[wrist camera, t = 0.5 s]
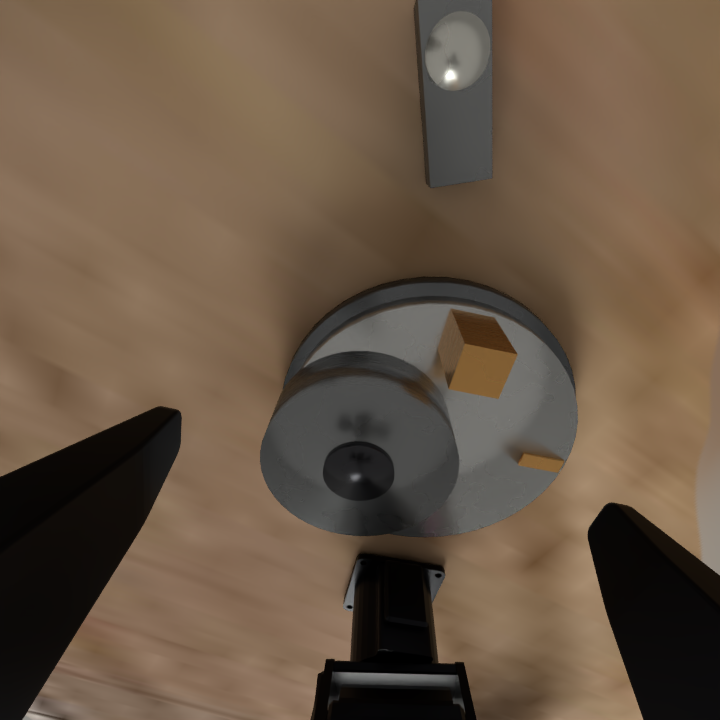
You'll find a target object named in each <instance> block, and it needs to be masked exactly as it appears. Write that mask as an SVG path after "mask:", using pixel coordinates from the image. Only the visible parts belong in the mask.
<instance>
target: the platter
mask: <svg viewBox="0 0 720 720" xmlns="http://www.w3.org/2000/svg"><path fill="white" fill-rule="evenodd" d="M348 351H371V352H379V353H383V354H387V355H391V356H394V357H397V358H399V359H402V360H404V361H406V362H408V363H410V364H412V365H413V366H415V367H417V368H418V369H419V370H421V371H422V372H423V373H425V374H426V375H427V376H428V377H429V378H430V379H431V380H432V381H433V382H434V384H435V385H436V386H437V388H438V389H439V390H440V392H441V394H442V396H443V397H444V400H445V403H446V405H447V408H448V412H449V416H450V420H451V424H452V428H453V432H454V436H455V441H456V445H457V449H458V454H459V472H458V478H457V481H456V484H455V487H454V489H453V490H452V492H451V494H450V496H449V497H448V499H447V500H446V501H445V503H444V504H443V505H442V506H441V507H440V508H439V509H438V510H437V511H436V512H434V513H433V514H432V515H431V516H429V517H428V518H426V519H425V520H423V521H421V522H420V523H418V524H416V525H413V526H411V527H409V528H406V529H403V530H400V531H397V532H393V533H389V534H393V535H401V536H409V537H439V536H448V535H455V534H461V533H465V532H470V531H474V530H477V529H480V528H483V527H486V526H489V525H492V524H494V523H496V522H498V521H501V520H503V519H505V518H507V517H509V516H511V515H512V514H514V513H516V512H518V511H519V510H521V509H522V508H524V507H525V506H527V505H528V504H529V503H531V502H532V501H533V500H535V499H536V498H537V497H538V496H539V495H540V494H541V493H542V492H544V491H545V490H546V488H547V487H548V486H549V485H550V484H551V483H552V482H553V481H554V479H555V478H556V477H557V475H558V474H559V472H560V471H561V469H562V468H563V466H564V465H565V462H566V460H567V458H568V456H569V454H570V452H571V449H572V446H573V443H574V440H575V437H576V430H577V423H578V414H577V402H576V397H575V392H574V388H573V386H572V383H571V381H570V378H569V376H568V374H567V372H566V370H565V369H564V367H563V365H562V364H561V362H560V361H559V359H558V358H557V357H556V355H555V354H554V353H553V352H552V350H551V349H550V348H549V347H548V345H547V344H546V343H545V342H544V341H543V340H542V339H541V337H540V336H539V335H538V334H537V333H536V332H534V331H533V330H532V329H531V328H530V327H528V326H527V325H526V324H525V323H524V322H522V321H520V320H519V319H517V318H515V317H514V316H512V315H510V314H509V313H507V312H505V311H502V310H500V309H498V308H495V307H493V306H491V305H488V304H485V303H481V302H477V301H474V300H470V299H464V298H457V297H450V296H421V297H411V298H404V299H400V300H395V301H391V302H387V303H383V304H381V305H378V306H375V307H373V308H370V309H367V310H365V311H363V312H361V313H359V314H357V315H355V316H353V317H351V318H349V319H347V320H346V321H345V322H343V323H342V324H340V325H339V326H337V327H336V328H335V329H333V330H332V331H331V332H330V333H329V334H327V335H326V336H325V337H324V338H323V339H322V340H321V341H320V342H319V343H318V344H317V345H316V346H315V348H314V349H313V350H312V351H311V353H310V354H309V355H308V356H307V358H306V360H305V361H304V363H303V365H302V366H301V368H300V370H301V369H302V368H304V367H305V366H307V365H308V364H310V363H312V362H314V361H316V360H318V359H320V358H323V357H326V356H328V355H331V354H336V353H341V352H348Z"/></svg>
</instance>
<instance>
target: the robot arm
mask: <svg viewBox="0 0 720 720" xmlns="http://www.w3.org/2000/svg"><path fill="white" fill-rule="evenodd" d="M181 419H182V417H181V412H180V411H179V410H177V409H172V408H168V407H163V406H159V407H156V408H153V409H151V410H149V411H147V412H144V413H142V414H140V415H138V416H135V417H133V418H131V419H129V420H126V421H124V422H122V423H120V424H117V425H115V426H113V427H111V428H109V429H106V430H104V431H102V432H100V433H97V434H95V435H93V436H91V437H88V438H86V439H84V440H82V441H79V442H77V443H75V444H73V445H70V446H68V447H66V448H64V449H62V450H59V451H57V452H55V453H53V454H50V455H48V456H46V457H44V458H41V459H39V460H37V461H35V462H32V463H30V464H28V465H26V466H24V467H21V468H19V469H17V470H15V471H12V472H10V473H8V474H6V475H3V476H1V477H0V720H22V719H23V718H24V716H25V715H26V713H27V711H28V710H29V708H30V706H31V705H32V703H33V702H34V700H35V698H36V697H37V695H38V694H39V692H40V690H41V689H42V687H43V686H44V684H45V682H46V681H47V679H48V678H49V676H50V674H51V673H52V671H53V670H54V668H55V666H56V665H57V663H58V662H59V660H60V658H61V657H62V655H63V653H64V652H65V650H66V649H67V647H68V645H69V644H70V642H71V641H72V639H73V637H74V636H75V634H76V633H77V631H78V629H79V628H80V626H81V625H82V623H83V621H84V620H85V618H86V617H87V615H88V613H89V612H90V610H91V609H92V607H93V605H94V604H95V602H96V600H97V599H98V597H99V596H100V594H101V592H102V591H103V589H104V588H105V586H106V584H107V583H108V581H109V580H110V578H111V576H112V575H113V573H114V572H115V570H116V568H117V567H118V565H119V564H120V562H121V560H122V559H123V557H124V555H125V554H126V552H127V551H128V549H129V547H130V546H131V544H132V543H133V541H134V539H135V538H136V536H137V535H138V533H139V531H140V529H141V528H142V526H143V524H144V523H145V521H146V519H147V517H148V515H149V513H150V511H151V509H152V507H153V504H154V502H155V500H156V498H157V496H158V494H159V492H160V490H161V488H162V486H163V484H164V481H165V479H166V477H167V475H168V473H169V471H170V469H171V467H172V465H173V463H174V461H175V458H176V456H177V454H178V452H179V448H180V444H181ZM588 542H589V546H590V550H591V554H592V558H593V562H594V566H595V570H596V574H597V578H598V582H599V586H600V590H601V594H602V598H603V602H604V605H605V609H606V612H607V616H608V619H609V622H610V625H611V628H612V631H613V634H614V636H615V639H616V642H617V645H618V648H619V651H620V654H621V657H622V659H623V662H624V665H625V668H626V671H627V674H628V677H629V680H630V682H631V685H632V688H633V691H634V694H635V697H636V700H637V702H638V705H639V708H640V711H641V714H642V717H643V720H720V575H718V574H717V573H715V571H713V570H712V569H710V568H709V567H708V566H707V565H705V564H704V563H703V562H702V561H700V560H699V559H698V558H696V557H695V556H694V555H693V554H691V553H690V552H689V551H687V550H686V549H685V548H684V547H682V546H681V545H680V544H678V543H677V542H676V541H675V540H673V539H672V538H671V537H669V536H668V535H667V534H666V533H664V532H663V531H662V530H660V529H659V528H658V527H656V526H655V525H654V524H653V523H651V522H650V521H649V520H647V519H646V518H645V517H644V516H642V515H641V514H640V513H638V512H637V511H636V510H635V509H633V508H632V507H630V506H627V505H623V504H618V503H608V504H606V505H605V506H604V507H603V509H602V510H601V511H600V513H599V514H598V516H597V517H596V518H595V520H594V521H593V523H592V524H591V525H590V527H589V530H588ZM444 578H445V570H444V568H443V567H440V566H435V565H429V564H424V563H418V562H412V561H406V560H400V559H394V558H388V557H382V556H376V555H371V554H359V555H358V556H357V559H356V562H355V565H354V569H353V572H352V575H351V578H350V582H349V585H348V588H347V592H346V595H345V598H344V603H343V608H344V609H345V610H348V611H353V621H352V638H351V656H350V661H335V659H326V663H325V669H324V671H323V672H321V673H319V674H318V678H317V687H316V695H315V702H314V708H313V712H312V716H311V720H476V715H475V711H474V706H473V702H472V697H471V693H470V688H469V684H468V679H467V675H466V670H465V666H464V662H455V664H447V663H438V654H437V645H436V636H435V627H434V618H433V609H432V602H433V600H434V598H435V596H436V594H437V592H438V590H439V588H440V586H441V584H442V582H443V580H444Z"/></svg>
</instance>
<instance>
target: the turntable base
mask: <svg viewBox="0 0 720 720" xmlns="http://www.w3.org/2000/svg"><path fill="white" fill-rule="evenodd" d="M421 296H450V297H457V298H464V299H470V300H474V301H477V302H481V303H485V304H488V305H491V306H493V307H495V308H498V309H500V310H502V311H505V312H507V313H509V314H510V315H512V316H514V317H515V318H517V319H519V320H520V321H522V322H524V323H525V324H526V325H527V326H528V327H530V328H531V329H532V330H533V331H534V332H536V333H537V334H538V335H539V336H540V337H541V339H542V340H543V341H544V342H545V343H546V344H547V345H548V347H549V348H550V349H551V350H552V352H553V353H554V354H555V355H556V357H557V358H558V359H559V361H560V362H561V364H562V365H563V367H564V369H565V370H566V372H567V374H568V376H569V378H570V381H571V383H572V386H573V388H574V392H575V383H574V378H573V373H572V369H571V367H570V364H569V361H568V359H567V356H566V354H565V352H564V351H563V349H562V347H561V346H560V344H559V342H558V341H557V339H556V338H555V337H554V335H553V334H552V333H551V332H550V331H549V330H548V328H547V327H546V326H545V325H544V324H543V323H542V322H541V320H540V319H539V318H538V317H537V316H536V315H535V314H534V313H532V312H531V311H530V310H529V309H528V308H526V307H525V306H524V305H523V304H521V303H520V302H518V301H517V300H515V299H513V298H512V297H510V296H508V295H507V294H505V293H503V292H500V291H498V290H496V289H493V288H491V287H489V286H486V285H482V284H479V283H475V282H472V281H468V280H462V279H455V278H448V277H419V278H410V279H402V280H398V281H393V282H389V283H385V284H381V285H379V286H376V287H373V288H371V289H368V290H365V291H363V292H361V293H359V294H357V295H355V296H353V297H351V298H349V299H348V300H346V301H344V302H342V303H341V304H340V305H338V306H337V307H336V308H334V309H333V310H331V311H330V312H329V313H327V314H326V315H325V316H324V317H323V318H322V319H321V320H320V321H319V322H318V323H317V324H316V325H315V326H314V327H313V328H312V329H311V331H310V332H309V333H308V335H307V336H306V337H305V338H304V340H303V341H302V343H301V345H300V346H299V348H298V350H297V352H296V353H295V355H294V358H293V360H292V363H291V365H290V368H289V370H288V373H287V376H286V378H285V382H284V386H283V389H284V387H285V385H286V384H287V383H288V382H289V380H290V379H291V378H292V377H293V376H294V375H295V374H296V373H297V372H298V371H299V370H300V368H301V366H302V365H303V363H304V361H305V360H306V358H307V356H308V355H309V354H310V353H311V351H312V350H313V349H314V348H315V346H316V345H317V344H318V343H319V342H320V341H321V340H322V339H323V338H324V337H325V336H326V335H327V334H329V333H330V332H331V331H332V330H333V329H335V328H336V327H337V326H339V325H340V324H342V323H343V322H345V321H346V320H347V319H349V318H351V317H353V316H355V315H357V314H359V313H361V312H363V311H365V310H367V309H370V308H373V307H375V306H378V305H381V304H383V303H387V302H391V301H395V300H400V299H404V298H411V297H421ZM575 397H576V396H575Z"/></svg>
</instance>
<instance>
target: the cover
mask: <svg viewBox="0 0 720 720" xmlns="http://www.w3.org/2000/svg"><path fill="white" fill-rule="evenodd" d="M260 463H261V470H262V473H263V476H264V480H265V482H266V484H267V486H268V488H269V490H270V491H271V492H272V494H273V495H274V497H275V498H276V499H277V500H278V501H279V502H280V504H281V505H282V506H283V507H285V508H286V509H287V510H288V511H289V512H290V513H292V514H293V515H295V516H296V517H298V518H299V519H301V520H303V521H305V522H307V523H308V524H311V525H313V526H315V527H318V528H320V529H324V530H327V531H330V532H334V533H339V534H345V535H353V536H374V535H382V534H389V533H393V532H397V531H400V530H403V529H406V528H409V527H411V526H413V525H416V524H418V523H420V522H421V521H423V520H425V519H426V518H428V517H429V516H431V515H432V514H433V513H434V512H436V511H437V510H438V509H439V508H440V507H441V506H442V505H443V504H444V503H445V501H446V500H447V499H448V497H449V496H450V494H451V492H452V490H453V489H454V487H455V484H456V481H457V478H458V472H459V454H458V449H457V445H456V441H455V436H454V432H453V428H452V424H451V420H450V416H449V412H448V408H447V405H446V403H445V400H444V397H443V396H442V394H441V392H440V390H439V389H438V388H437V386H436V385H435V384H434V382H433V381H432V380H431V379H430V378H429V377H428V376H427V375H426V374H425V373H423V372H422V371H421V370H419V369H418V368H417V367H415V366H413V365H412V364H410V363H408V362H406V361H404V360H402V359H399V358H397V357H394V356H391V355H387V354H383V353H379V352H371V351H348V352H341V353H336V354H331V355H328V356H326V357H323V358H320V359H318V360H316V361H314V362H312V363H310V364H308V365H307V366H305V367H304V368H302V369H301V370H299V371H298V372H297V373H296V374H295V375H294V376H293V377H292V378H291V379H290V380H289V382H288V383H287V384H286V385H285V387H284V389H283V391H282V392H281V394H280V397H279V399H278V402H277V405H276V407H275V410H274V412H273V415H272V417H271V420H270V423H269V425H268V428H267V430H266V433H265V436H264V438H263V441H262V445H261V450H260Z"/></svg>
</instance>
